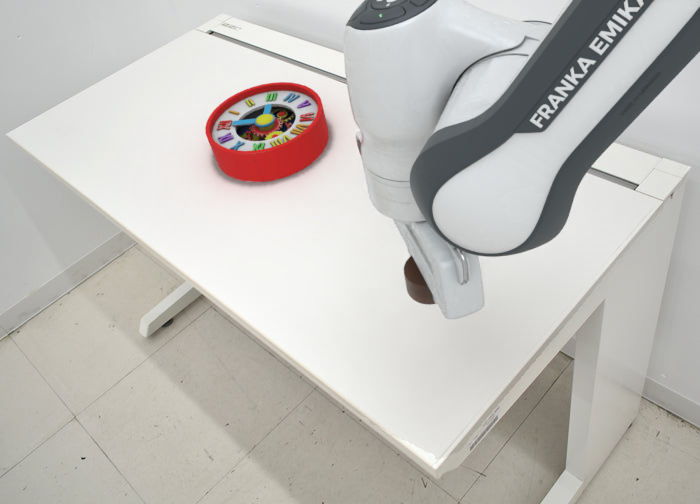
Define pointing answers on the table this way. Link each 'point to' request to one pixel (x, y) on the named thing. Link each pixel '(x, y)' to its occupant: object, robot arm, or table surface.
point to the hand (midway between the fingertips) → (429, 275)
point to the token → (416, 283)
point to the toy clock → (268, 131)
